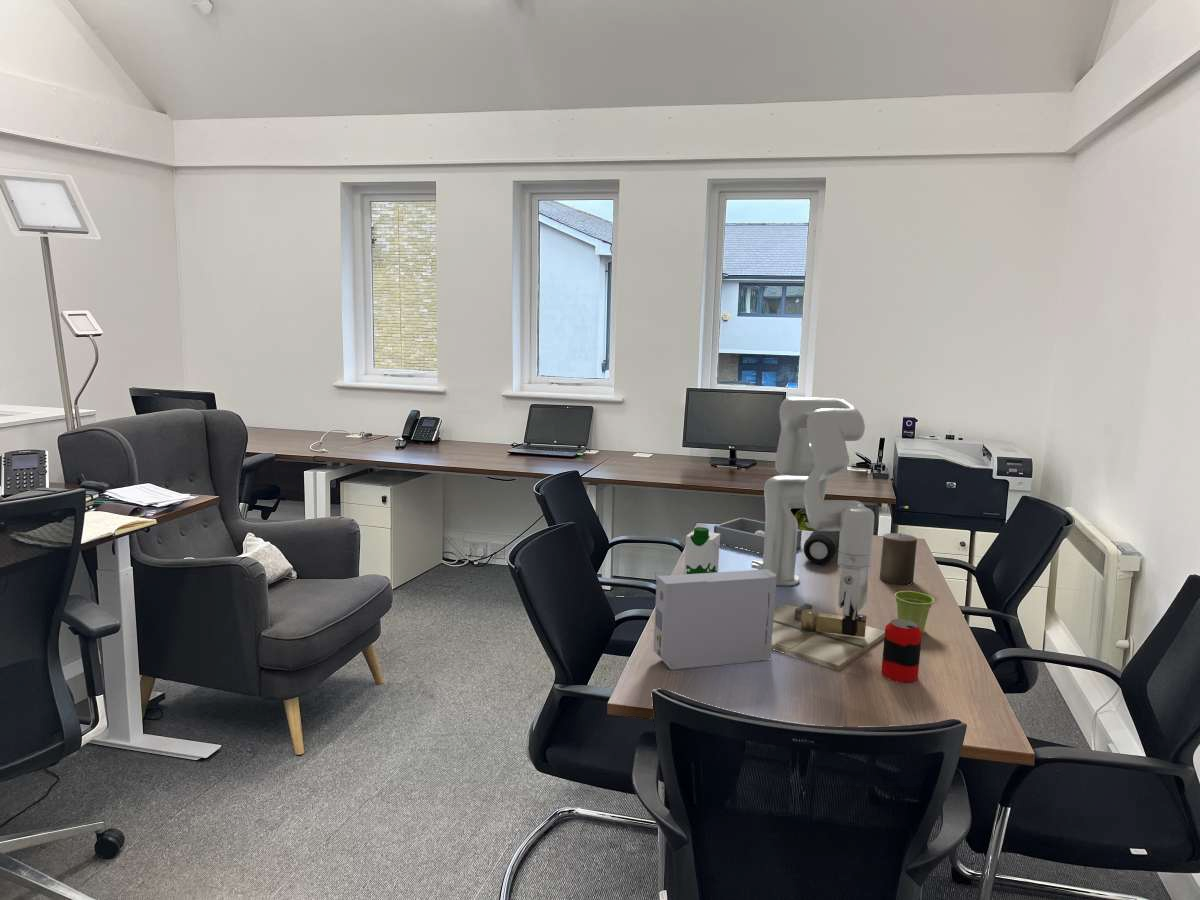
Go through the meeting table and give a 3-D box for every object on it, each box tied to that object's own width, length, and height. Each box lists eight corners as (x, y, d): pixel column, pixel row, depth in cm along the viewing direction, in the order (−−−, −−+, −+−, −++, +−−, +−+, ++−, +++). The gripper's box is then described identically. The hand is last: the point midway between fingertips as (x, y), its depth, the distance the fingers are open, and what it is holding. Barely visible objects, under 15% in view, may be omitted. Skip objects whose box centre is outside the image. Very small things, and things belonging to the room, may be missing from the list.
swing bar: (800, 630, 199) (801, 611, 198) (801, 624, 203) (802, 606, 202) (865, 638, 195) (866, 619, 194) (864, 632, 199) (866, 613, 198)
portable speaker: (814, 545, 284) (816, 517, 283) (843, 549, 280) (845, 521, 279) (801, 564, 261) (803, 534, 260) (832, 569, 257) (835, 538, 256)
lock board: (729, 636, 199) (730, 620, 198) (783, 607, 220) (784, 593, 220) (838, 670, 181) (839, 653, 181) (886, 635, 203) (887, 620, 202)
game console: (774, 660, 186) (780, 576, 182) (662, 671, 178) (666, 584, 175) (762, 650, 191) (767, 568, 188) (652, 661, 183) (656, 575, 180)
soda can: (898, 685, 175) (903, 632, 173) (873, 671, 182) (878, 619, 180) (925, 680, 178) (930, 627, 176) (899, 666, 185) (904, 615, 183)
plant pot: (929, 626, 210) (933, 593, 209) (931, 639, 202) (935, 605, 200) (891, 620, 213) (894, 588, 212) (891, 633, 205) (894, 600, 203)
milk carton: (679, 599, 224) (683, 528, 221) (690, 589, 233) (693, 521, 229) (710, 604, 221) (714, 533, 218) (720, 595, 229) (724, 525, 226)
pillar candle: (913, 587, 241) (918, 538, 239) (879, 582, 244) (883, 534, 242) (912, 578, 251) (917, 530, 248) (878, 574, 254) (883, 527, 251)
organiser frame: (713, 542, 283) (714, 526, 282) (739, 533, 297) (740, 517, 296) (775, 557, 268) (776, 539, 267) (800, 546, 282) (801, 529, 281)
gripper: (864, 568, 184) (858, 647, 186) (877, 554, 197) (871, 628, 199) (830, 563, 187) (825, 640, 190) (845, 550, 200) (840, 622, 203)
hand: (849, 634), depth 194 cm, fingers closed
